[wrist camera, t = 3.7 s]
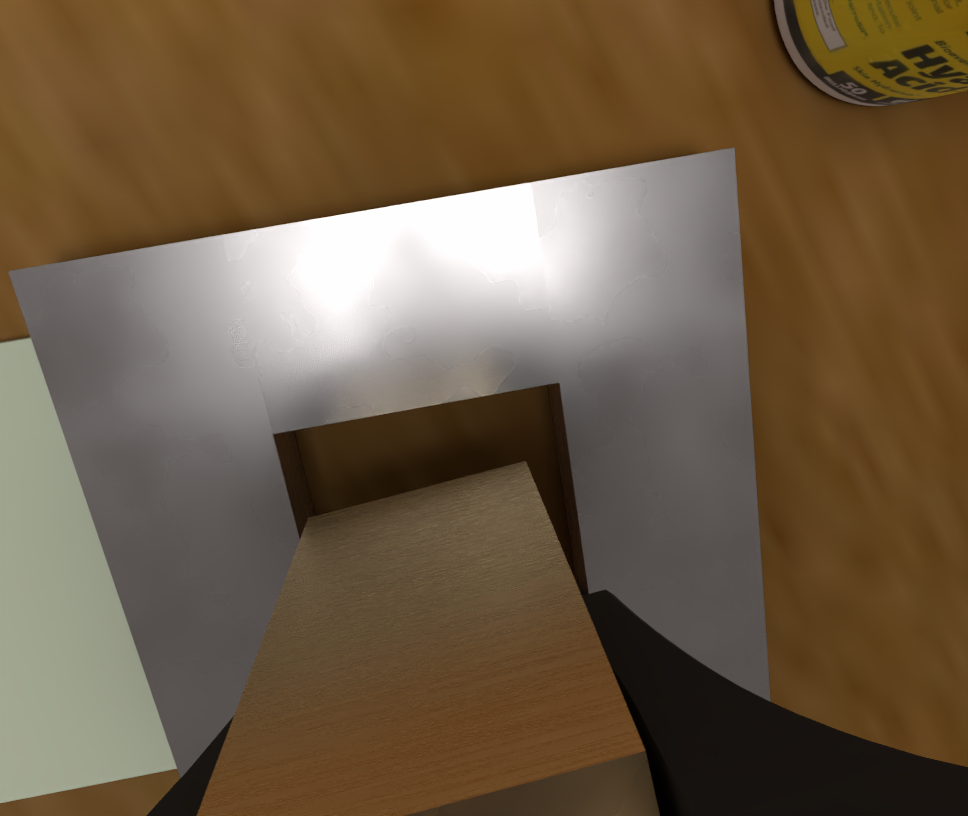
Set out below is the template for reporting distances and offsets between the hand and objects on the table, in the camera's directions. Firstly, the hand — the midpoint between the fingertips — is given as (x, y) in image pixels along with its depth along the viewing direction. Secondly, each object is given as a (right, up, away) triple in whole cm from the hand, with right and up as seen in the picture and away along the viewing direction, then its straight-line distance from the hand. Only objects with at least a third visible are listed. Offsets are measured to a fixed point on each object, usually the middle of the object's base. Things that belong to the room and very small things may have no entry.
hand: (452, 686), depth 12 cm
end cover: (0, +1, +3) cm, 3 cm away
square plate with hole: (-1, +2, +7) cm, 7 cm away
